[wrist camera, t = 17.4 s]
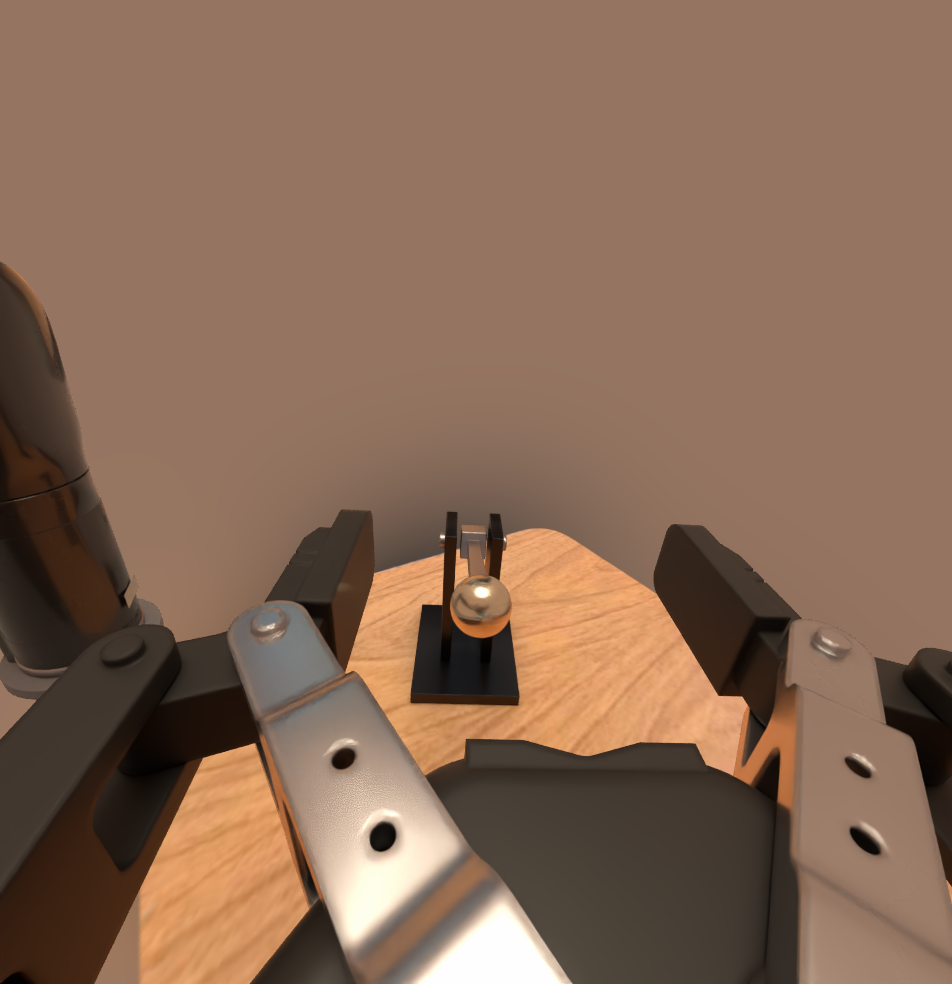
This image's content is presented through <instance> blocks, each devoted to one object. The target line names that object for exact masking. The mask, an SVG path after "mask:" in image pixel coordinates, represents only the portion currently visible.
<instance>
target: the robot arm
mask: <svg viewBox="0 0 952 984" xmlns="http://www.w3.org/2000/svg"><path fill="white" fill-rule="evenodd" d="M374 562H375V560H374V539H373V519H372V513H371V511H364V510H341V511H340V512H339V514H338V516H337V518H336V520H335V522H334V524H333V525H332V527H331V528H323V527H320V528H318V529H316V530H315V531H313V532H312V533H310V534H309V535H308V536H306V537H305V538H304V539H303V540H302V542H301V544H300V546H299V547H298V549H297V550H296V554H294V555H293V557H292V558H291V560H290V562H289V565H287V566H286V568H285V570H284V571H283V573H282V575H281V576H280V578H279V580H278V581H277V583H276V584H275V586H274V587H273V589H272V591H271V592H270V594H269V596H268V597H267V599H266V600H265V602H264V603H262V604H259V605H257V606H254V607H252V608H250V609H248V610H246V611H245V612H243V613H242V614H240V615H239V616H238V617H237V618H236V619H235V620H234V621H233V622H232V624H231V625H230V627H229V629H228V631H226V632H223V633H220V634H216V635H212V636H207V637H202V638H197V639H192V640H187V641H182V642H177V643H176V641H175V638H174V635H173V633H172V632H171V631H170V630H169V629H168V628H166V627H164V626H161V625H156V624H145V623H146V618H145V615H144V612H143V609H142V607H141V606H140V605H139V602H138V600H137V597H136V592H137V589H138V587H139V586H138V584H137V581H136V578H135V575H134V576H133V578H132V580H131V579H130V577H129V574H128V572H127V569H126V566H125V563H124V561H123V558H122V555H121V552H120V550H119V547H118V544H117V542H116V538H115V536H114V533H113V530H112V528H111V525H110V522H109V519H108V517H107V514H106V511H105V509H104V506H103V503H102V500H101V498H100V495H99V493H98V490H97V487H96V484H95V481H94V479H93V476H92V473H91V470H90V468H89V466H88V463H87V460H86V457H85V454H84V450H83V443H82V433H81V427H80V422H79V418H78V415H77V412H76V408H75V405H74V402H73V399H72V396H71V392H70V389H69V385H68V382H67V379H66V375H65V371H64V368H63V364H62V360H61V357H60V353H59V349H58V346H57V343H56V339H55V336H54V333H53V330H52V327H51V324H50V322H49V319H48V317H47V314H46V312H45V310H44V308H43V306H42V304H41V303H40V301H39V299H38V297H37V296H36V294H35V292H34V291H33V290H32V289H31V287H30V286H29V285H28V283H27V282H26V281H25V280H24V279H23V278H22V277H21V276H20V275H19V274H18V273H17V272H16V271H14V270H13V269H12V268H10V267H9V266H7V265H6V264H4V263H2V262H0V649H1V650H2V652H3V654H4V656H5V657H6V659H7V661H8V662H10V663H17V664H18V666H19V668H20V670H21V671H22V672H23V673H25V674H26V675H29V676H32V677H36V678H56V677H59V678H58V679H57V680H56V681H55V682H54V683H53V684H52V685H51V686H50V687H49V688H48V689H47V690H46V691H45V692H44V694H43V695H42V696H41V697H40V698H39V699H38V700H37V701H36V702H35V703H34V704H33V705H32V706H31V708H30V709H29V710H28V711H27V712H26V713H25V714H24V715H23V716H22V717H21V718H20V719H19V720H18V721H17V722H16V723H15V724H14V726H13V727H12V728H11V729H10V730H9V731H8V732H7V733H6V734H5V735H4V736H3V737H2V738H1V739H0V984H94V983H95V981H96V979H97V977H98V975H99V972H100V970H101V968H102V966H103V964H104V962H105V960H106V958H107V956H108V954H109V952H110V949H111V948H112V945H113V944H114V941H115V939H116V937H117V935H118V933H119V931H120V929H121V927H122V925H123V923H124V921H125V919H126V917H127V914H128V912H129V910H130V908H131V906H132V904H133V902H134V900H135V898H136V896H137V894H138V892H139V890H140V888H141V885H142V883H143V881H144V879H145V877H146V875H147V873H148V871H149V869H150V867H151V865H152V863H153V861H154V858H155V856H156V854H157V852H158V850H159V848H160V846H161V844H162V842H163V840H164V838H165V836H166V834H167V832H168V829H169V827H170V825H171V823H172V821H173V819H174V817H175V815H176V813H177V811H178V809H179V807H180V805H181V802H182V800H183V798H184V796H185V794H186V792H187V790H188V788H189V786H190V784H191V782H192V780H193V778H194V776H195V773H196V771H197V769H198V767H199V765H200V763H201V761H202V759H203V758H204V757H208V756H211V755H215V754H218V753H222V752H225V751H229V750H232V749H236V748H239V747H243V746H246V745H250V744H253V743H255V746H256V749H257V752H258V755H259V758H260V761H261V764H262V767H263V770H264V773H265V776H266V778H267V781H268V784H269V787H270V790H271V793H272V796H273V799H274V802H275V805H276V808H277V811H278V814H279V817H280V820H281V823H282V826H283V829H284V832H285V835H286V839H287V842H288V845H289V849H290V852H291V855H292V859H293V862H294V865H295V868H296V871H297V874H298V877H299V880H300V883H301V886H302V889H303V892H304V895H305V898H306V901H307V904H308V907H309V911H308V912H307V913H306V914H305V916H304V917H303V918H302V919H301V921H300V922H299V923H298V924H297V926H296V927H295V928H294V929H293V931H292V932H291V933H290V934H289V936H288V937H287V938H286V939H285V941H284V942H283V943H282V944H281V946H280V947H279V948H278V949H277V951H276V952H275V953H274V954H273V956H272V957H271V958H270V959H269V961H268V962H267V963H266V964H265V965H264V967H263V968H262V969H261V970H260V972H259V973H258V974H257V975H256V977H255V978H254V979H253V980H252V982H251V983H250V984H952V903H951V899H950V895H949V890H948V886H947V882H946V880H947V881H948V882H949V884H950V885H951V886H952V652H949V651H946V650H941V649H936V648H924V649H921V650H919V651H918V652H917V654H916V655H915V656H914V658H913V659H912V661H911V662H910V663H909V665H908V666H907V665H903V664H899V663H895V662H891V661H887V660H883V659H879V658H875V657H873V655H872V653H871V652H870V651H869V650H868V648H866V646H865V645H864V644H862V643H861V642H860V641H858V640H857V639H856V638H855V637H853V636H852V635H850V634H848V633H846V632H845V631H843V630H841V629H839V628H837V627H835V626H832V625H830V624H827V623H824V622H821V621H817V620H812V619H802V618H801V617H800V616H799V615H798V614H797V613H796V612H795V611H794V610H793V609H792V608H791V607H790V606H789V605H788V604H787V603H786V602H785V601H784V600H783V599H782V598H781V597H780V596H779V595H778V594H777V593H776V592H775V591H774V590H773V589H772V588H771V587H770V586H769V585H768V584H767V583H764V580H763V579H762V578H761V577H760V575H759V574H758V573H756V572H753V568H752V567H751V566H750V565H749V564H748V563H747V562H746V561H745V560H744V559H743V558H742V557H740V556H739V555H738V554H736V553H734V552H733V551H731V550H730V549H728V548H727V547H725V546H723V545H722V544H720V543H719V542H718V541H717V540H716V539H715V537H714V536H713V535H712V534H711V533H710V532H709V531H708V530H707V529H706V528H705V527H703V526H700V525H681V524H673V525H671V526H670V527H669V528H668V530H667V532H666V535H665V539H664V542H663V545H662V548H661V552H660V555H659V558H658V561H657V564H656V567H655V571H654V587H655V590H656V593H657V595H658V596H659V598H660V600H661V601H662V603H663V605H664V606H665V608H666V610H667V611H668V613H669V615H670V616H671V618H672V620H673V621H674V623H675V625H676V626H677V628H678V629H679V631H680V633H681V634H682V636H683V638H684V639H685V641H686V643H687V644H688V646H689V648H690V649H691V651H692V653H693V654H694V656H695V658H696V659H697V661H698V663H699V664H700V666H701V667H702V669H703V671H704V672H705V674H706V676H707V677H708V679H709V681H710V682H711V684H712V686H713V687H714V689H715V691H716V692H717V694H718V696H742V697H743V698H744V700H745V701H746V703H747V704H748V707H747V708H746V710H745V712H744V715H743V721H742V727H741V733H740V739H739V745H738V751H737V757H736V763H735V768H734V774H733V776H732V775H730V774H728V773H726V772H723V771H721V770H718V769H716V768H713V767H710V766H707V765H706V764H705V762H704V760H703V758H702V756H701V754H700V752H699V750H698V748H697V746H696V744H692V743H642V742H640V743H636V744H633V745H629V746H625V747H622V748H618V749H614V750H611V751H607V752H604V753H600V754H596V755H593V756H580V755H576V754H573V753H569V752H565V751H562V750H558V749H554V748H551V747H547V746H543V745H540V744H536V743H532V742H529V741H525V740H493V739H466V745H465V756H464V759H461V760H458V761H454V762H451V763H449V764H446V765H444V766H442V767H439V768H437V769H436V770H434V771H432V772H430V773H429V774H427V775H425V776H424V774H423V773H422V771H421V770H420V768H419V766H418V765H417V763H416V762H415V760H414V759H413V757H412V756H411V754H410V752H409V751H408V749H407V748H406V746H405V745H404V743H403V742H402V740H401V738H400V737H399V735H398V734H397V732H396V731H395V729H394V727H393V726H392V724H391V723H390V721H389V720H388V718H387V717H386V715H385V713H384V712H383V710H382V709H381V707H380V706H379V704H378V703H377V701H376V699H375V698H374V696H373V695H372V693H371V692H370V690H369V689H368V687H367V685H366V684H365V682H364V681H363V679H362V678H361V677H360V676H359V674H358V673H356V672H355V671H352V672H350V673H348V674H346V673H345V671H346V668H347V665H348V661H349V658H350V655H351V651H352V648H353V645H354V641H355V638H356V635H357V632H358V628H359V625H360V622H361V618H362V615H363V612H364V609H365V605H366V602H367V599H368V595H369V592H370V589H371V585H372V582H373V576H374V565H375V564H374Z"/></svg>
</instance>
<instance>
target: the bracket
mask: <svg viewBox="0 0 952 984" xmlns="http://www.w3.org/2000/svg"><path fill="white" fill-rule="evenodd" d="M457 518H458V513H457V512H447V518H446V531H445V533H440V546H439V547H440V548H445V551H444V577H443V603H442V605H422V612H421V619H420V627H419V634H418V642H417V650H416V657H415V665H414V672H413V680H412V688H411V703H451V704H493V705H518V703H519V689H518V681H517V674H516V666H515V658H514V651H513V643H512V635H511V628H510V620H509V621H508V623H507V624H506V626H505V627H504V628H503V629H502V630H501V631H500V632H499V633H497V634H495V635H493V636H491V637H487V638H475V637H471V636H469V635H467V634H465V633H464V632H462V631H461V630H460V629H459V628H458V627H457V625H456V624H455V622H454V620H453V618H452V615H451V610H450V603H451V597H452V594H453V592H454V582H455V563H456V544H457ZM506 545H507V538H506V535H503V530H502V523H501V518H500V514H490V516H489V528H488V538H487V549H486V560H485V571H486V575H489V576H492V577H494V578H496V579H497V580H500V570H501V561H502V552H503V551H505V550H506Z"/></svg>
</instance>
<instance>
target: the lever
mask: <svg viewBox="0 0 952 984" xmlns="http://www.w3.org/2000/svg"><path fill="white" fill-rule="evenodd" d="M486 536H487V533H486V530H485V526H476V525H461V543H460V558H466V559H468V573H469V577H468V578H466V579H464V580H463V581H462V582H461V583H460V584H459V585H458V586H457V587H456V589H455V590H454V592H453V594H452V597H451V603H450V610H451V615H452V618H453V620H454V622H455V624H456V625H457V627H458V628H459V629H460V630H461V631H462V632H464V633H465V634H467V635H469V636H471V637H475V638H487V637H491V636H493V635H495V634H497V633H499V632H500V631H501V630H502V629H503V628H504V627H505V626H506V624H507V623H508V621H509V618H510V615H511V610H512V603H511V597H510V594H509V592H508V590H507V589H506V587H505V586H504V585H503V584H502V583H501V582H500V581H499V580H497V579H496V578H494V577H492V576H489V575H486V571H485V566H484V560H483V559H485V553H486Z"/></svg>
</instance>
